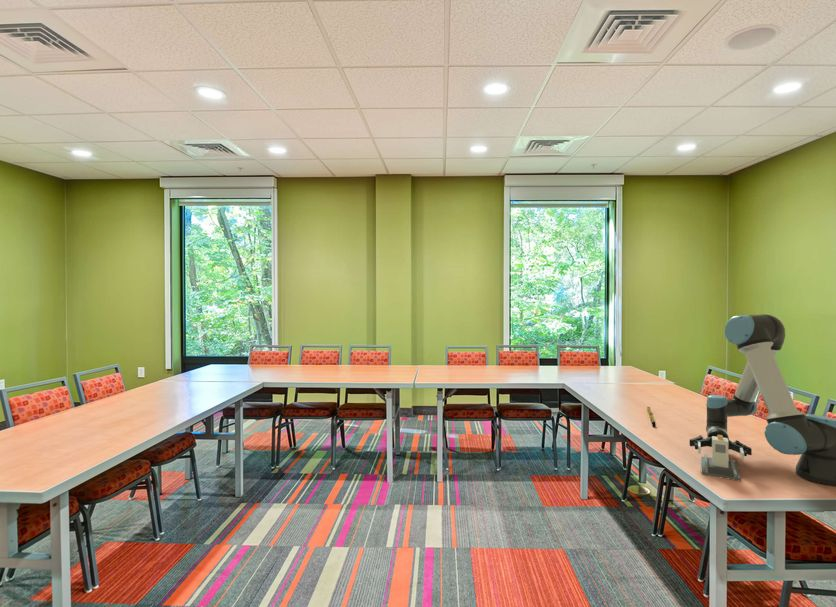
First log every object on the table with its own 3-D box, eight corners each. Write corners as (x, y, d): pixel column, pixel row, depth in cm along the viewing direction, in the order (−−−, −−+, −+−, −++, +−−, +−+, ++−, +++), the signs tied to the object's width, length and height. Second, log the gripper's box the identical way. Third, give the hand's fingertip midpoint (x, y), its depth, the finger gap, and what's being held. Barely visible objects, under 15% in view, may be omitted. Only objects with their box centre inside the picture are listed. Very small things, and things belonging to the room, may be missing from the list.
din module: (727, 468, 170) (727, 435, 170) (728, 473, 165) (728, 438, 165) (711, 466, 172) (711, 433, 172) (712, 470, 168) (712, 436, 168)
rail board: (736, 464, 178) (736, 455, 178) (740, 481, 162) (740, 471, 162) (701, 458, 184) (701, 450, 184) (701, 474, 168) (701, 465, 168)
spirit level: (647, 411, 260) (647, 406, 260) (650, 411, 259) (649, 406, 259) (652, 427, 229) (652, 421, 229) (655, 427, 229) (655, 421, 229)
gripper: (755, 451, 177) (762, 469, 160) (683, 441, 191) (682, 456, 173) (755, 433, 177) (762, 449, 159) (683, 424, 191) (682, 438, 173)
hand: (720, 453), depth 166 cm, fingers open, 13 cm apart
